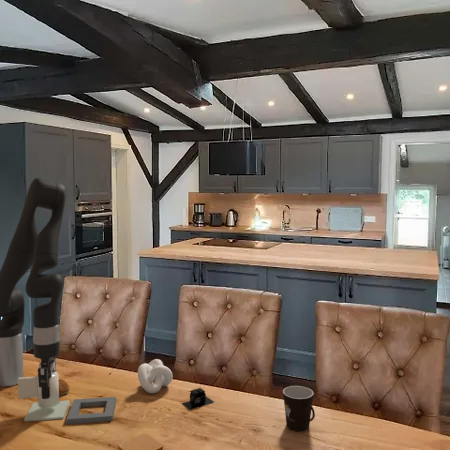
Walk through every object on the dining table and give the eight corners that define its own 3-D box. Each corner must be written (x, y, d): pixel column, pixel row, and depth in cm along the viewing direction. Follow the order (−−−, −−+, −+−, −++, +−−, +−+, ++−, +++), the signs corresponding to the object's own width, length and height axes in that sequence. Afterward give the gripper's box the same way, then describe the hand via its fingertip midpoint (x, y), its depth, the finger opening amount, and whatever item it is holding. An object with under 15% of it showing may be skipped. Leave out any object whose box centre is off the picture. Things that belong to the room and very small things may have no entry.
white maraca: (60, 398, 146) (59, 370, 146) (57, 407, 141) (56, 378, 140) (22, 401, 145) (21, 372, 144) (16, 410, 139) (15, 380, 138)
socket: (66, 424, 135) (66, 419, 135) (74, 404, 148) (73, 399, 148) (112, 420, 137) (112, 415, 137) (116, 401, 150) (115, 396, 150)
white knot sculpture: (155, 399, 151) (154, 372, 151) (127, 391, 157) (127, 365, 157) (176, 387, 161) (176, 361, 160) (150, 380, 167) (149, 355, 166)
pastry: (75, 392, 157) (74, 381, 157) (57, 399, 152) (56, 388, 152) (59, 385, 163) (58, 374, 163) (41, 391, 158) (40, 380, 158)
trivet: (24, 421, 137) (24, 419, 137) (33, 404, 148) (33, 402, 148) (63, 418, 138) (63, 416, 138) (69, 402, 149) (69, 400, 149)
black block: (186, 414, 143) (185, 399, 142) (174, 405, 149) (174, 391, 148) (220, 403, 149) (220, 389, 149) (208, 395, 156) (208, 382, 155)
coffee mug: (281, 418, 139) (281, 385, 138) (310, 419, 138) (311, 386, 138) (285, 439, 127) (285, 403, 126) (317, 439, 127) (317, 404, 126)
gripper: (54, 346, 135) (56, 403, 136) (63, 332, 149) (65, 383, 151) (27, 348, 134) (29, 405, 135) (39, 333, 148) (40, 384, 149)
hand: (48, 393), depth 143 cm, fingers closed on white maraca, 6 cm apart
